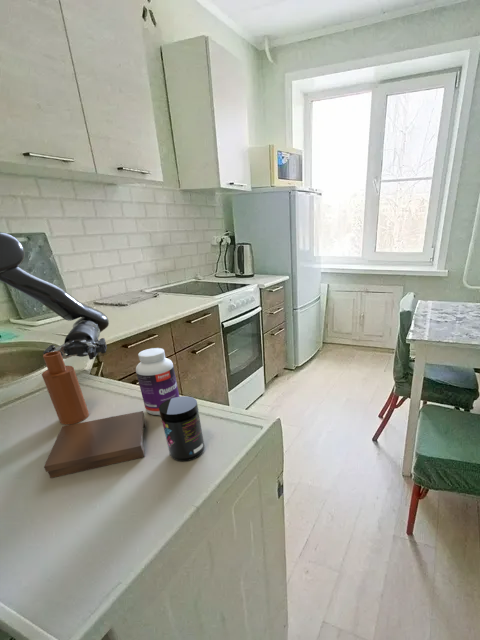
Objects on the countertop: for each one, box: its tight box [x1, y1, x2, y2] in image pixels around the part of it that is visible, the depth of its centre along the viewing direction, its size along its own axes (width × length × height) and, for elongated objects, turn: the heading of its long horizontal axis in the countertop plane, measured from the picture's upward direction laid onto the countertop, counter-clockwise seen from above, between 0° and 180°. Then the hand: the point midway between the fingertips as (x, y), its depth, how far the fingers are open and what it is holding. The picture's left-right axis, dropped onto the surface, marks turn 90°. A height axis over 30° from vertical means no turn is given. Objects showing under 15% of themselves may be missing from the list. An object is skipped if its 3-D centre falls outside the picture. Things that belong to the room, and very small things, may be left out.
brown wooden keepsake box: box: [43, 410, 147, 479], centre depth 70 cm, size 16×14×3 cm
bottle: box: [41, 351, 90, 426], centre depth 79 cm, size 6×6×16 cm
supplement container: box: [159, 395, 205, 462], centre depth 66 cm, size 7×7×10 cm
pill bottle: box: [135, 347, 180, 416], centre depth 81 cm, size 8×8×14 cm
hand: (71, 358), depth 88 cm, fingers open, 8 cm apart
